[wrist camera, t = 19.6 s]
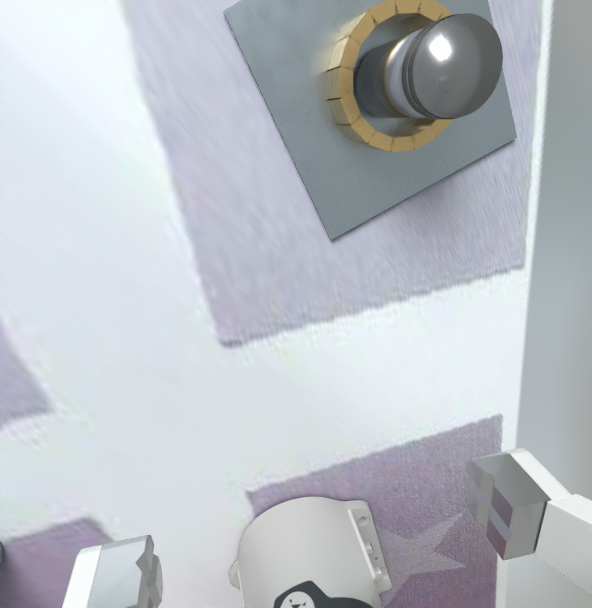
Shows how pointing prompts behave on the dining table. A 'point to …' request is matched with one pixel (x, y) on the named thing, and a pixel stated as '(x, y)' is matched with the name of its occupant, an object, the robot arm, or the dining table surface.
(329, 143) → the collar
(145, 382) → the dining table surface
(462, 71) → the cylinder
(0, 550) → the grey green cup
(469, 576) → the dining table surface
